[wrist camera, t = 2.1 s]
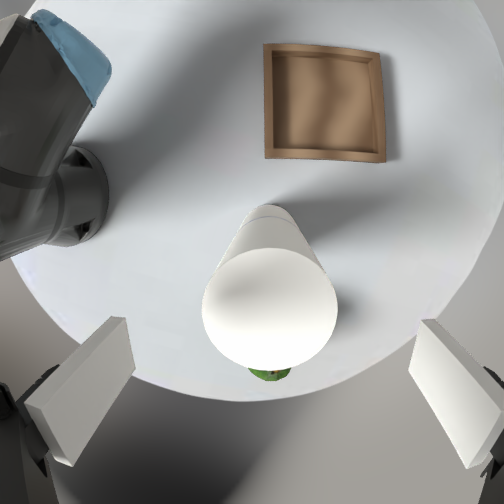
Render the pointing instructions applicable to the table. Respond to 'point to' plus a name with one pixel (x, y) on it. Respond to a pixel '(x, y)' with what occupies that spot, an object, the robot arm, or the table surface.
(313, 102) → the tray
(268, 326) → the cylindrical container
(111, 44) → the table surface
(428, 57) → the table surface
